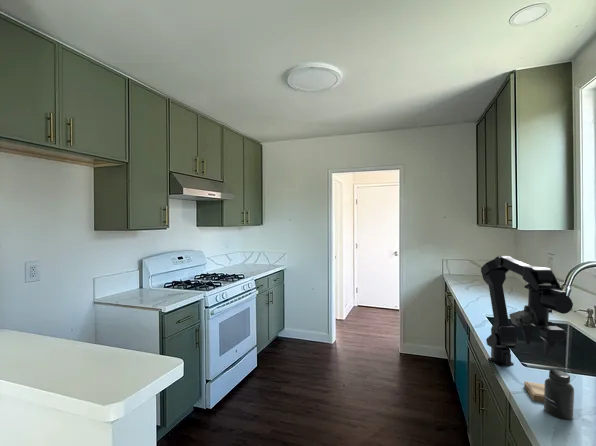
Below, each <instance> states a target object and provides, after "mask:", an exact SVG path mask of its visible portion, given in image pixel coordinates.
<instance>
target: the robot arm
mask: <svg viewBox="0 0 596 446" xmlns="http://www.w3.org/2000/svg"><path fill="white" fill-rule="evenodd" d="M509 271H512V272H513V273H515V274H517V275H519V276H521V277H522V280H523V281H525V282H526V283H527V284H525V285H524V286H523V287H524V288H525V289H527V290H528V292H527V293H528V296H527V297H528V301H527V305H526V304H525V305H524V307H523V309H522V310H518V311H515V312H511V313H509V316H508V311H507V303H506V297H505V292H504V287H503V285H504V283H505V282H506V279H507V277H506V276H507V275H506V274H507V273H508V272H509ZM480 273H481V275H482V279H483V281H484V283H486V284H487V286H488V290H489V297H490V301H491V308H492V315H493V320H494V321H493V324H492V326H491V327H490V335H489V336H488V337H487V338H486V340H485V341H486V345H487V346H488V347H490V350H491V352H490V357H487V360H488V361H490V362H492V363H494V364H496V365H497V366H499V367H500V366H501V367H502V366H503V367H504V366H513V365H514V364H515V363H514V362H513V361H512V354H511V351H512V350H511V349H513V350H514V349H516V346H517V343H518V340H519V339H518V338H519V337H518V333H517V328H516V327H518V328H520V329H521V332H522V334H523V338H524V342H525V344H526V345H531V342H532V339H533V337H534V334H535V331H536V328H537V329H539V333H540V335H538V337H540V338H541V339H542V342H543V354H544V356H546V357H549V356H550V355H551V354H552V352H553V351H554V349H555V348H556V347H557V345H558V344H560V342H562V341H564V340H568V332H567V331H566V330H565V329H563V328H561V327H558V326H557V325H553V322H552V321H551V320H549V319H550V318H549V316H550V315H549V314H550V313H553V311H554V312H556V313H559V314H563V315H564V314H568V313H569V312H571V311H572V309H573V305H574V303H573V301H572V298H570V297H569V296H568V295H567V291H565V290H562V287H561V285H560V283H559V282H558V279H557V278H556V276H555V274H554V272H553V270H552V269H551V268H550V267H544V266H537V265H531V264H528V263H525V262H524V261H521V260H518V259H516V258H513V257H512V256H510V255H498V256H496V257H495V258H494V259H492V260H490V261H487V262H485V263H484V264H483V266H481V268H480ZM509 318H510V321H509ZM510 322H511V323H510ZM513 325H515V326H513Z"/></svg>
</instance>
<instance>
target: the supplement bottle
mask: <svg viewBox="0 0 596 446" xmlns="http://www.w3.org/2000/svg"><path fill="white" fill-rule="evenodd" d="M548 372H549V373H548V378H546V379H545V380H544V384H545V386H544V402H543V409H544V411H545V412H546V413H548V415H550V416H552V417H555V418H557V419H560V420H566V421H567V420H571V419H573V417H574V411H575V410H574V409H575V408H574V407H575V388H574V386H573V385H572V384H571V375H570V374H569V373H568V372H566V371H563V370H558V369H550V370H549V371H548Z"/></svg>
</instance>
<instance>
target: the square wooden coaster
mask: <svg viewBox="0 0 596 446" xmlns="http://www.w3.org/2000/svg"><path fill="white" fill-rule="evenodd" d="M544 386H545V383H544V384H543V383H539V382H531V381H524V385H523V387H524V389H525V390H526V391H527V392H528V394H529V396H530V397H531V399H532V400H533V402H542V403H544Z"/></svg>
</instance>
